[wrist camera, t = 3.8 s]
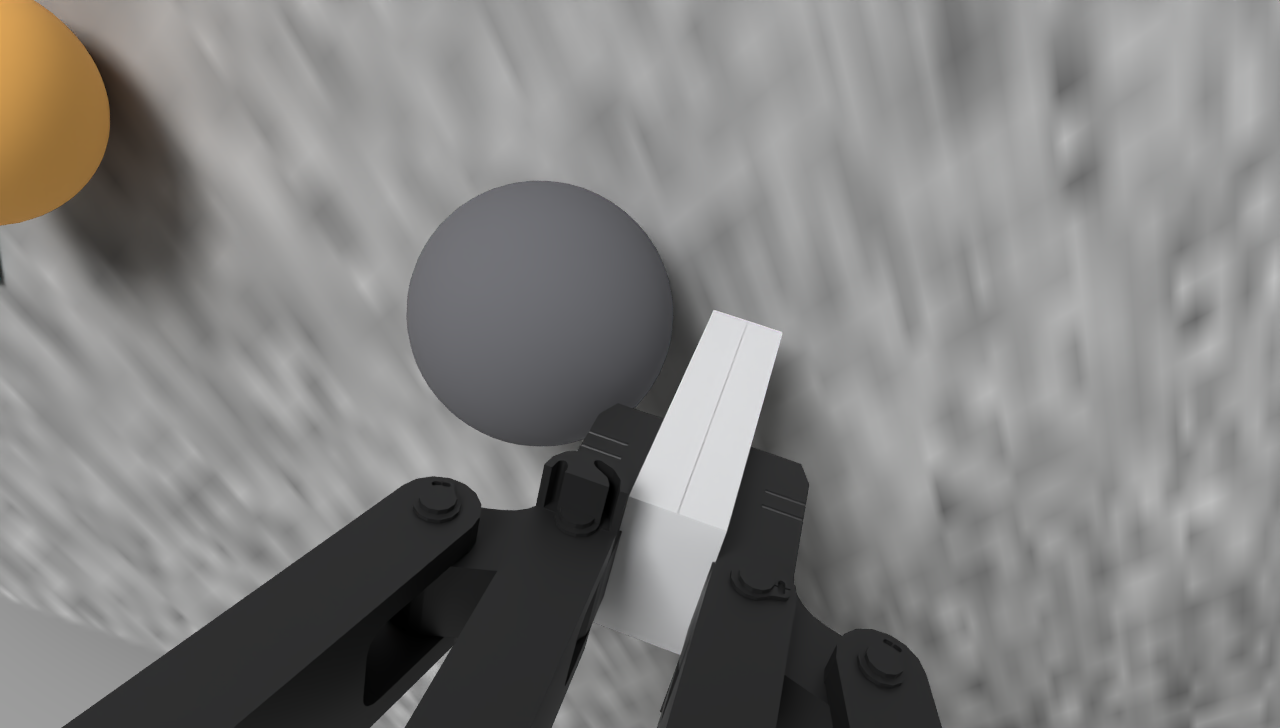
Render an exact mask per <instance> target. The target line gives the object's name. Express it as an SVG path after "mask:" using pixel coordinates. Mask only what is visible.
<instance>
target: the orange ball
mask: <svg viewBox="0 0 1280 728" xmlns="http://www.w3.org/2000/svg"><path fill="white" fill-rule="evenodd" d="M109 131H110V109H109V101H108V97H107V93H106V89H105V86H104V83H103V80H102V77H101V75H100V73H99V71H98V68H97V66H96V65H95V63H94V61H93V59H92V57H91V56H90V54H89V53H88V51H87V50H86V48H85V47H84V45H83V44H82V43H81V42H80V40H79V39H78V38H77V37H76V36H75V35H74V34H73V32H72V31H71V30H70V29H69V28H68V27H67V26H66V25H65V24H64V23H63V22H62V21H60V20H59V19H58V18H57V17H56V16H55V15H54V14H53V13H51V12H50V11H48V10H47V9H46V8H44V7H43V6H42V5H40V4H39V3H37V2H35V1H34V0H0V225H7V224H14V223H20V222H23V221H27V220H30V219H33V218H36V217H39V216H42V215H44V214H46V213H48V212H50V211H52V210H54V209H56V208H58V207H60V206H61V205H63V204H64V203H66V202H67V201H69V200H70V199H71V198H73V197H74V196H75V195H76V194H77V193H78V192H79V191H80V190H81V189H82V188H83V187H84V186H85V185H86V184H87V183H88V182H89V180H90V179H91V178H92V176H93V175H94V173H95V172H96V170H97V168H98V167H99V165H100V163H101V161H102V158H103V156H104V153H105V150H106V146H107V142H108V139H109Z"/></svg>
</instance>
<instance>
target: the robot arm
mask: <svg viewBox="0 0 1280 728" xmlns="http://www.w3.org/2000/svg"><path fill="white" fill-rule="evenodd" d="M782 333H783V332H780V331H777V330H774V329H771V328H768V327H765V326H762V325H759V324H756V323H753V322H750V321H747V320H744V319H741V318H737V317H734V316H731V315H728V314H725V313H722V312H719V311H716V310H713V313H712V315H711V317H710V319H709V321H708V324H707V326H706V328H705V330H704V332H703V335H702V337H701V339H700V341H699V343H698V346H697V348H696V350H695V352H694V354H693V357H692V359H691V361H690V363H689V365H688V368H687V370H686V372H685V374H684V376H683V379H682V381H681V383H680V385H679V387H678V390H677V392H676V394H675V396H674V398H673V401H672V403H671V405H670V407H669V409H668V412H667V414H666V416H665V418H664V419H662V418H660V417H657V416H654V415H651V414H648V413H645V412H642V411H639V410H636V409H633V408H630V407H628V406H625V405H622V404H619V403H617V404H616V405H614V406H612V407H610V408H609V409H607V410H605V411H603V412H602V413H600V414H599V415H598V417H597V418H596V420H595V422H594V424H593V425H592V427H591V429H590V431H589V433H588V434H587V436H586V437H585V439H584V441H583V442H582V445H581V446H580V448H579V449H578V451H567V452H564V453H561V454H558V455H555V456H553V457H552V458H551V459H550V460H549V461H548V462H547V463H546V464H545V465H544V469H543V474H542V479H541V484H540V489H539V493H538V498H537V503H536V506H534V507H532V508H529V509H523V510H496V509H487V508H481V503H480V501H479V499H478V496H477V494H476V493H475V492H474V491H473V490H471V489H470V488H469V487H468V486H467V485H465V484H463V483H461V482H458V481H456V480H453V479H451V478H443V477H434V476H432V477H426V478H419V479H415V480H413V481H411V482H409V483H407V484H405V485H403V486H401V487H400V488H398V489H397V490H396V491H394V492H393V493H391V494H390V495H389V496H387V497H386V498H384V499H383V500H382V501H380V502H379V503H377V504H376V505H375V506H373V507H372V508H370V509H369V510H367V511H366V512H365V513H363V514H362V515H360V516H359V517H358V518H356V519H355V520H353V521H352V522H351V523H349V524H348V525H346V526H345V527H344V528H342V529H341V530H339V531H338V532H336V533H335V534H334V535H332V536H331V537H329V538H328V539H327V540H325V541H324V542H322V543H321V544H320V545H318V546H317V547H315V548H314V549H313V550H311V551H310V552H308V553H307V554H306V555H304V556H303V557H301V558H300V559H298V560H297V561H296V562H294V563H293V564H291V565H290V566H289V567H287V568H286V569H284V570H283V571H282V572H280V573H279V574H277V575H276V576H275V577H273V578H272V579H270V580H269V581H267V582H266V583H265V584H263V585H262V586H260V587H259V588H258V589H256V590H255V591H253V592H252V593H251V594H249V595H248V596H246V597H245V598H244V599H242V600H241V601H239V602H238V603H237V604H235V605H234V606H232V607H231V608H229V609H228V610H227V611H225V612H224V613H222V614H221V615H220V616H218V617H217V618H215V619H214V620H213V621H211V622H210V623H208V624H207V625H206V626H204V627H203V628H201V629H200V630H199V631H197V632H196V633H194V634H193V635H191V636H190V637H189V638H187V639H186V640H184V641H183V642H182V643H180V644H179V645H177V646H176V647H175V648H173V649H172V650H170V651H169V652H168V653H166V654H165V655H163V656H162V657H161V658H159V659H158V660H156V661H155V662H153V663H152V664H151V665H149V666H148V667H146V668H145V669H144V670H142V671H141V672H139V673H138V674H137V675H135V676H134V677H132V678H131V679H130V680H128V681H127V682H125V683H124V684H122V685H121V686H120V687H118V688H117V689H116V690H114V691H113V692H111V693H110V694H108V695H107V696H106V697H104V698H103V699H101V700H100V701H99V702H97V703H96V704H94V705H93V706H91V707H90V708H89V709H87V710H86V711H84V712H83V713H82V714H80V715H79V716H77V717H76V718H75V719H73V720H72V721H70V722H69V723H68V724H66V725H65V726H63V727H62V728H370V727H371V726H372V725H373V724H374V723H375V722H376V721H377V720H378V719H379V718H380V717H381V716H382V715H383V714H384V713H385V712H386V711H387V710H388V709H389V708H390V707H391V706H392V705H393V704H394V703H395V702H396V701H397V700H399V699H400V698H401V697H402V696H403V695H404V694H405V693H406V692H407V691H408V690H409V689H410V688H411V687H412V686H413V685H414V684H415V683H416V682H417V681H418V680H419V679H420V678H421V677H422V676H423V675H424V674H425V673H426V672H427V671H428V670H429V669H430V668H431V667H432V666H433V665H434V664H435V663H436V662H437V661H438V660H439V659H440V658H441V657H442V656H443V655H444V654H445V653H446V652H447V651H448V650H449V649H450V648H451V647H452V646H453V647H452V649H451V650H450V652H449V654H448V655H447V657H446V659H445V660H444V662H443V664H442V665H441V667H440V669H439V671H438V672H437V674H436V676H435V677H434V679H433V681H432V682H431V684H430V686H429V687H428V689H427V691H426V693H425V694H424V696H423V698H422V699H421V701H420V703H419V704H418V706H417V708H416V709H415V711H414V713H413V715H412V716H411V718H410V720H409V721H408V723H407V725H406V726H405V728H552V725H553V723H554V721H555V718H556V716H557V713H558V711H559V709H560V706H561V704H562V702H563V699H564V697H565V694H566V692H567V690H568V687H569V685H570V682H571V680H572V678H573V675H574V673H575V670H576V668H577V666H578V663H579V661H580V659H581V656H582V654H583V651H584V649H585V646H586V642H587V638H588V635H589V631H590V628H591V625H592V623H593V620H594V623H596V624H599V625H601V626H604V627H607V628H609V629H612V630H615V631H617V632H620V633H623V634H625V635H628V636H631V637H633V638H636V639H639V640H641V641H644V642H647V643H649V644H652V645H655V646H657V647H660V648H663V649H665V650H668V651H671V652H673V653H676V654H679V655H680V658H679V661H678V664H677V667H676V669H675V672H674V675H673V678H672V680H671V683H670V686H669V688H668V691H667V694H666V697H665V699H664V702H663V705H662V708H661V710H660V712H662V713H661V717H660V720H659V723H658V727H657V728H942V726H941V723H940V720H939V716H938V713H937V709H936V706H935V703H934V699H933V696H932V693H931V689H930V686H929V682H928V679H927V676H926V673H925V671H924V669H923V667H922V665H921V663H920V661H919V659H918V658H917V657H916V656H915V655H914V654H913V653H912V652H911V650H910V649H909V648H908V647H907V646H906V645H904V644H903V643H901V642H900V641H898V640H897V639H895V638H893V637H892V636H890V635H888V634H885V633H882V632H879V631H876V630H873V629H855V630H853V631H850V632H848V633H846V634H844V635H843V636H840V635H839V634H837V633H836V632H834V631H833V630H831V629H830V628H828V627H827V626H825V625H824V624H822V623H821V622H820V621H819V620H817V619H816V618H815V617H813V616H812V615H811V614H810V612H809V611H808V610H807V609H806V608H805V607H804V606H803V604H802V603H801V601H800V599H799V598H798V596H797V593H796V587H795V585H794V572H795V566H796V560H797V554H798V548H799V542H800V536H801V530H802V524H803V522H802V521H803V518H804V512H805V505H806V500H807V494H808V488H809V483H808V480H807V478H806V475H805V473H804V470H803V468H802V466H801V464H799V463H796V462H793V461H791V460H788V459H785V458H782V457H779V456H776V455H773V454H770V453H767V452H764V451H761V450H758V449H756V448H753V447H751V444H752V440H753V436H754V433H755V429H756V426H757V422H758V419H759V415H760V412H761V408H762V404H763V401H764V397H765V394H766V390H767V387H768V383H769V380H770V376H771V372H772V369H773V365H774V362H775V358H776V355H777V351H778V347H779V344H780V340H781V337H782ZM594 618H595V619H594Z"/></svg>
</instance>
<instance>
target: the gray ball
mask: <svg viewBox="0 0 1280 728" xmlns="http://www.w3.org/2000/svg"><path fill="white" fill-rule="evenodd" d="M672 325H673V299H672V294H671V288H670V283H669V279H668V276H667V273H666V270H665V267H664V264H663V262H662V260H661V258H660V256H659V254H658V252H657V249H656V248H655V246H654V245H653V243H652V242H651V240H650V239H649V237H648V236H647V234H646V233H645V232H644V231H643V230H642V228H641V227H640V226H639V225H638V224H637V223H636V222H635V221H634V220H633V219H632V218H631V217H630V216H629V215H628V214H627V213H626V212H625V211H623V210H622V209H621V208H619V207H618V206H616V205H615V204H614V203H612V202H611V201H609V200H607V199H605V198H604V197H602V196H600V195H598V194H596V193H594V192H591V191H589V190H587V189H584V188H581V187H578V186H574V185H570V184H565V183H559V182H551V181H526V182H518V183H513V184H509V185H505V186H501V187H498V188H494V189H491V190H489V191H487V192H485V193H483V194H480V195H478V196H477V197H475V198H473V199H471V200H470V201H468V202H466V203H465V204H463V205H462V206H460V207H459V208H458V209H456V210H455V211H454V212H453V213H452V214H451V215H450V216H449V217H448V218H447V219H446V220H445V221H444V222H442V223H441V224H440V225H439V227H438V228H437V229H436V231H435V232H434V233H433V234H432V236H431V237H430V239H429V240H428V242H427V243H426V245H425V247H424V248H423V250H422V252H421V254H420V256H419V258H418V260H417V263H416V266H415V268H414V271H413V274H412V277H411V280H410V285H409V290H408V299H407V329H408V334H409V339H410V344H411V348H412V352H413V355H414V358H415V361H416V363H417V366H418V368H419V370H420V372H421V374H422V376H423V378H424V379H425V381H426V382H427V384H428V386H429V387H430V389H431V390H432V391H433V393H434V394H435V395H436V396H437V398H438V399H439V400H440V401H441V402H442V403H443V404H444V405H445V406H446V407H447V409H449V410H450V411H451V412H452V413H453V414H454V415H455V416H457V417H458V418H459V419H461V420H462V421H463V422H465V423H466V424H468V425H469V426H471V427H473V428H475V429H476V430H478V431H480V432H482V433H484V434H486V435H488V436H491V437H493V438H496V439H499V440H502V441H505V442H509V443H514V444H518V445H528V446H556V445H562V444H568V443H572V442H575V441H579V440H582V439H585V437H586V436H587V434H588V433H589V431H590V429H591V427H592V425H593V424H594V422H595V420H596V418H597V417H598V415H599V414H600V413H602V412H603V411H605V410H607V409H609V408H610V407H612V406H614V405H616V404H617V403H619V404H622V405H625V406H628V407H630V408H635V407H636V406H637V405H638V404H639V402H640V401H641V400H642V399H643V398H644V396H645V395H646V394H647V393H648V391H649V390H650V388H651V387H652V385H653V383H654V382H655V380H656V378H657V377H658V375H659V373H660V371H661V368H662V366H663V364H664V361H665V358H666V356H667V353H668V349H669V345H670V341H671V336H672Z"/></svg>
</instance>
